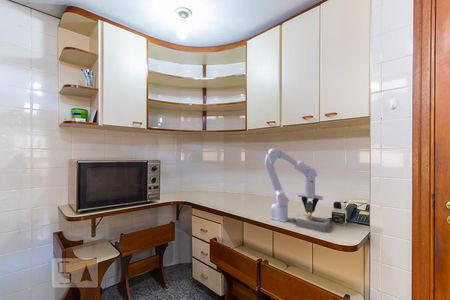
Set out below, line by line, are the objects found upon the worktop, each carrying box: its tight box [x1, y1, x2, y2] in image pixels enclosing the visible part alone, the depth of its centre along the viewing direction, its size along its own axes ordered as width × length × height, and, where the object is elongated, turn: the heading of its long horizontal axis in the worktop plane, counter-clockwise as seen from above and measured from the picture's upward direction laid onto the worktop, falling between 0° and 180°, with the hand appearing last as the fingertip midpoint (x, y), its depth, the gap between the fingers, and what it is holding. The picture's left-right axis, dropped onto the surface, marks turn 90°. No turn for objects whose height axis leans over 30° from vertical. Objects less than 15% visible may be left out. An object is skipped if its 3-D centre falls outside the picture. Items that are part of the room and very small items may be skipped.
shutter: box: [294, 212, 313, 220], centre depth 127 cm, size 7×7×3 cm
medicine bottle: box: [331, 201, 348, 226], centre depth 130 cm, size 7×7×12 cm
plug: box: [304, 200, 315, 215], centre depth 135 cm, size 4×4×7 cm
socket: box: [296, 214, 332, 233], centre depth 124 cm, size 15×12×4 cm
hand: (309, 210), depth 135 cm, fingers closed on plug, 4 cm apart
